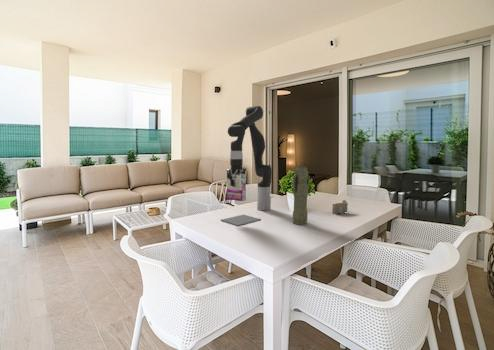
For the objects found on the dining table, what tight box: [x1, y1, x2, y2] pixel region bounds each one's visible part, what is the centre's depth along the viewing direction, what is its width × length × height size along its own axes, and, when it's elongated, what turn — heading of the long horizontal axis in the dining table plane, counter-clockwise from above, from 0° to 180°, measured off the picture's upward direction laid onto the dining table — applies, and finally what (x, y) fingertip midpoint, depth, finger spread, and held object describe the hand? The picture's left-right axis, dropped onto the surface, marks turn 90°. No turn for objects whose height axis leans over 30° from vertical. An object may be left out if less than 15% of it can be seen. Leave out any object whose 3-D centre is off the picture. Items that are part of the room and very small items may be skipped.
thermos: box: [292, 166, 310, 226], centre depth 178 cm, size 9×12×35 cm
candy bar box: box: [226, 173, 247, 202], centre depth 180 cm, size 11×5×16 cm, turn 62°
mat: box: [220, 214, 262, 227], centre depth 185 cm, size 20×16×1 cm
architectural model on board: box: [331, 199, 348, 215], centre depth 205 cm, size 11×3×10 cm, turn 116°
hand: (236, 185), depth 180 cm, fingers closed on candy bar box, 6 cm apart
